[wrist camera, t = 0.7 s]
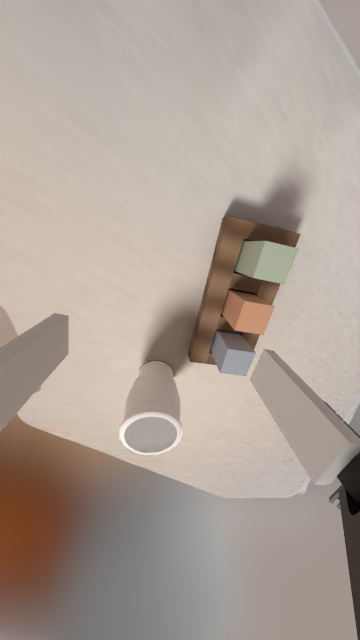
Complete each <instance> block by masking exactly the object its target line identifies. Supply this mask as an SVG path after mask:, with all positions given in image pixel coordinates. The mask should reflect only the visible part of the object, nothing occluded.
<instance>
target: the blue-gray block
mask: <svg viewBox="0 0 360 640" xmlns="http://www.w3.org/2000/svg"><path fill="white" fill-rule="evenodd" d="M211 353H212V355H213V357H214V360H215V362H216V365H217V367H218V369H219V372H220V373H225V374H234V375H242V376H246V375H247V372H248V370H249V368H250V365H251V363H252V360H253V358H254V355H255V351H254V350H253V349H252V348H251V347H250V345H249V344H248V343H247V342H246V341H245V339H244V338H243V337H242V336H241V335H240V333H235V332H229V331H222V330H216V334H215V337H214V340H213V344H212V347H211Z"/></svg>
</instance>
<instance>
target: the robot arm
mask: <svg viewBox="0 0 360 640" xmlns="http://www.w3.org/2000/svg"><path fill="white" fill-rule="evenodd" d="M67 355H68V315H62V314H56V313H54V314H53V315H51V316H50V317H48V318H46V319H45V320H43V321H42V322H40V323H39V324H37V325H35V326H34V327H32V328H31V329H29V330H28V331H26V332H25V333H23V334H21V335H20V336H18V337H17V338H15V339H14V340H12V341H10V342H9V343H7V344H6V345H4V346H3V347H1V348H0V431H1V430H2V429H3V428H4V427H5V425H6V424H7V423H8V422H9V421H10V420H11V419H12V417H13V416H14V415H15V414H16V413H17V412H18V411H19V409H20V408H21V407H22V406H23V405H24V404H25V403H26V401H27V400H28V399H29V398H30V397H31V396H32V395H33V393H34V392H35V391H36V390H37V389H38V388H39V387H40V385H41V384H42V383H43V382H44V381H45V380H46V379H47V377H48V376H49V375H50V374H51V373H52V372H53V371H54V369H55V368H56V367H57V366H58V365H59V364H60V363H61V361H62V360H63V359H64V358H65V357H66V356H67ZM250 381H251V382H252V384H253V385H254V387H255V389H256V390H257V392H258V394H259V395H260V397H261V399H262V400H263V402H264V403H265V405H266V407H267V408H268V410H269V412H270V413H271V415H272V417H273V418H274V420H275V421H276V423H277V425H278V426H279V428H280V430H281V431H282V433H283V435H284V436H285V438H286V439H287V441H288V443H289V444H290V446H291V448H292V449H293V451H294V452H295V454H296V456H297V457H298V459H299V461H300V462H301V464H302V466H303V467H304V469H305V470H306V472H307V474H308V475H309V477H310V479H311V480H312V482H313V483H314V484H315V485H330V484H331V482H332V481H333V480H334V479H335V478H336V477H338V479H339V480H340V482H341V483H342V485H341V486H340V487H339V488H338V489H337V490H336V491H335V492H334V493H333V495H331V497H330V500H329V501H330V502H331V503H333V502H334V501H335V500H336V499H339V500H340V503H339V504H338V505H337V507H338V508H339V509H340V510H341V513H342V522H343V529H344V536H345V544H346V551H347V559H348V567H349V575H350V582H351V590H352V597H353V605H354V612H355V620H356V628H357V635H358V640H360V436H359V435H358V434H357V433H356V432H355V431H354V430H353V429H352V428H351V427H350V426H349V425H348V424H347V423H346V422H345V421H343V419H342V418H341V417H340V416H339V415H338V414H336V412H335V411H334V410H333V409H332V408H331V407H330V406H329V405H328V404H327V403H325V402H324V401H323V400H322V399H321V398H320V397H319V396H318V395H317V394H316V393H315V392H314V391H313V390H312V389H311V388H310V387H309V386H308V385H307V384H306V383H305V382H304V381H303V380H302V379H301V378H300V377H299V376H298V375H297V374H296V373H295V372H294V371H293V370H292V369H291V368H290V367H289V366H288V365H287V364H286V363H285V362H284V361H283V360H282V359H281V358H280V357H279V356H278V355H277V354H276V353H275V352H274V351H272V350H266V349H264V350H263V352H262V354H261V356H260V358H259V360H258V363H257V365H256V367H255V369H254V371H253V373H252V375H251V378H250Z"/></svg>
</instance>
